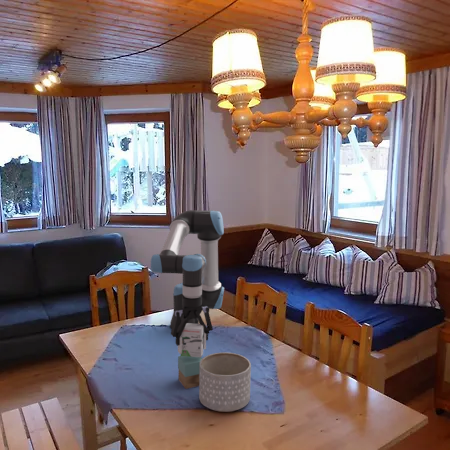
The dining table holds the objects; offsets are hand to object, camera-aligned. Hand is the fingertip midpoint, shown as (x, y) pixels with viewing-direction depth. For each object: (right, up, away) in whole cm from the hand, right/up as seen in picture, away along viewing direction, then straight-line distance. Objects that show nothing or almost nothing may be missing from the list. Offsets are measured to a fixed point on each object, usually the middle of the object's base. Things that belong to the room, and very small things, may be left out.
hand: (191, 350), depth 167 cm
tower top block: (0, -8, +1) cm, 8 cm away
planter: (+13, -15, -12) cm, 23 cm away
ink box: (0, -2, 0) cm, 2 cm away
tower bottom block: (0, -13, +1) cm, 13 cm away
